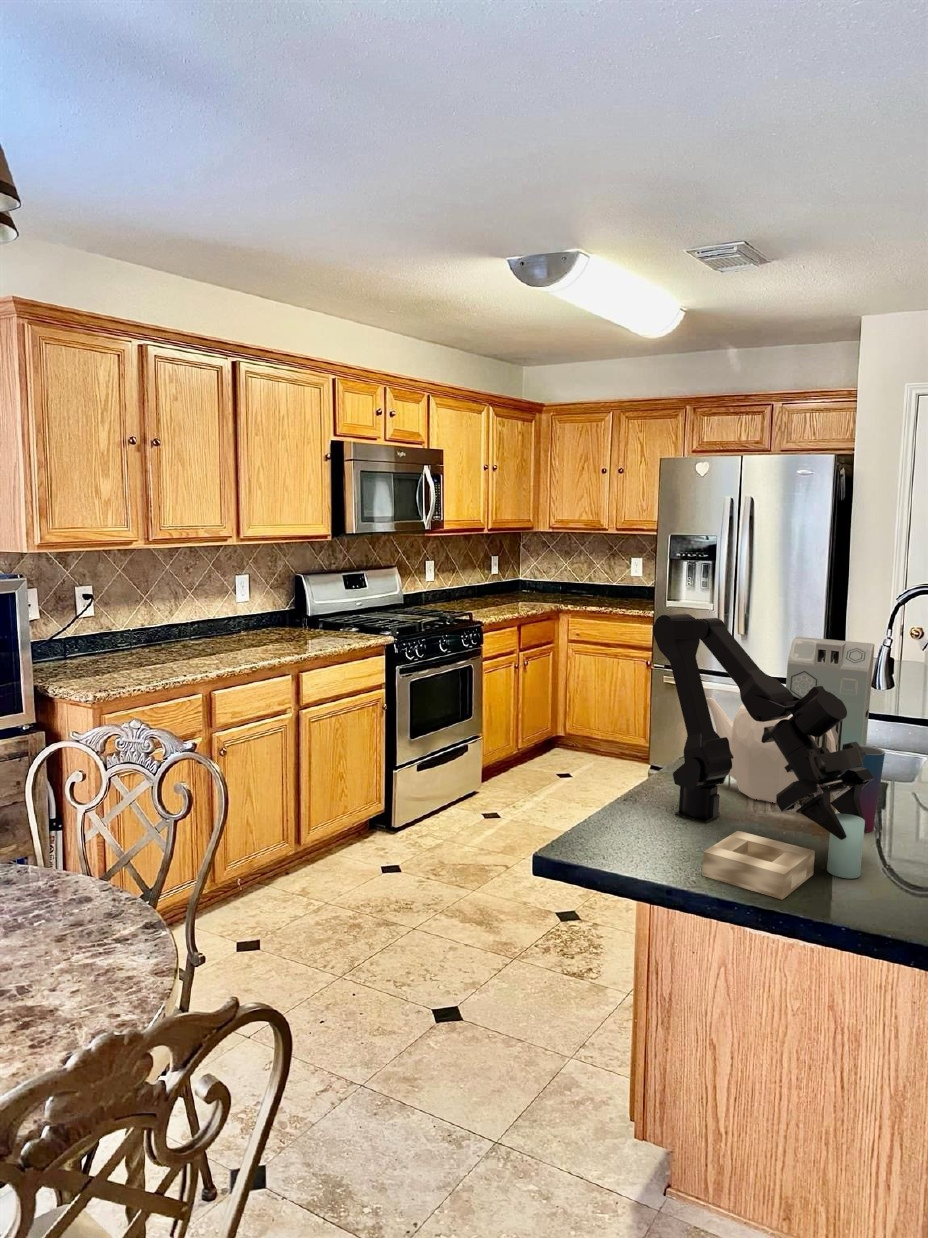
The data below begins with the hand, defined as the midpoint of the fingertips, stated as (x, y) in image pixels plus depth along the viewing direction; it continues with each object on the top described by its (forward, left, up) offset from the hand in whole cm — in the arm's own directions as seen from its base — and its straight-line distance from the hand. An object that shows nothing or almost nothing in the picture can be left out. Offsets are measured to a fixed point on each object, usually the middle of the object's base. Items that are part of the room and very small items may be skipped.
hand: (854, 835), depth 146 cm
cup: (-6, +24, -7) cm, 26 cm away
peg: (-1, 0, -7) cm, 7 cm away
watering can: (-27, +31, -7) cm, 42 cm away
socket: (-11, -10, -7) cm, 17 cm away
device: (-23, +54, -7) cm, 60 cm away
